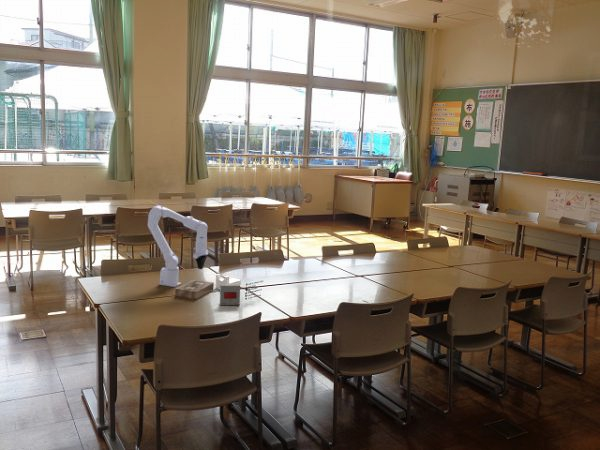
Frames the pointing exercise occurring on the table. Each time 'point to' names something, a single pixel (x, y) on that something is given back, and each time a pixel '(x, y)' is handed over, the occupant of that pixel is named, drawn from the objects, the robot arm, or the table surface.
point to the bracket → (226, 281)
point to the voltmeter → (233, 294)
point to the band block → (196, 292)
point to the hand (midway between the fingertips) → (200, 268)
